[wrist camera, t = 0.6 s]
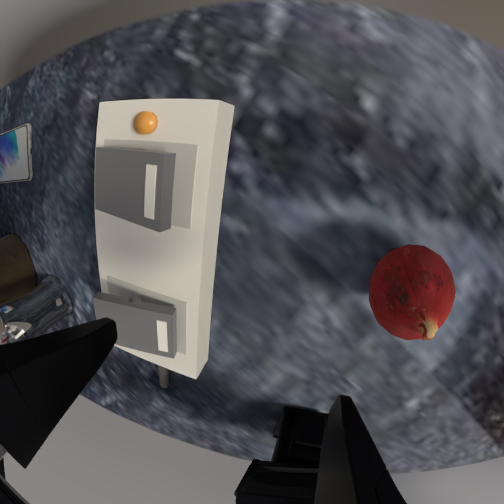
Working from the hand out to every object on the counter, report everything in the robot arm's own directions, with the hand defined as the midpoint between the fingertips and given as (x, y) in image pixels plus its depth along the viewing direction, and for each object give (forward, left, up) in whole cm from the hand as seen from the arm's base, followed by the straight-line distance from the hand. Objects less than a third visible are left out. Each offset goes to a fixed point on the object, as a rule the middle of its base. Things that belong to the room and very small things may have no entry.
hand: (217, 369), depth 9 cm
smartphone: (+5, +37, -13) cm, 40 cm away
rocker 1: (+4, +10, -8) cm, 13 cm away
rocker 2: (-8, +10, -8) cm, 15 cm away
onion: (+1, -9, -13) cm, 16 cm away
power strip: (-5, +10, -13) cm, 17 cm away
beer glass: (-13, +27, -13) cm, 33 cm away
